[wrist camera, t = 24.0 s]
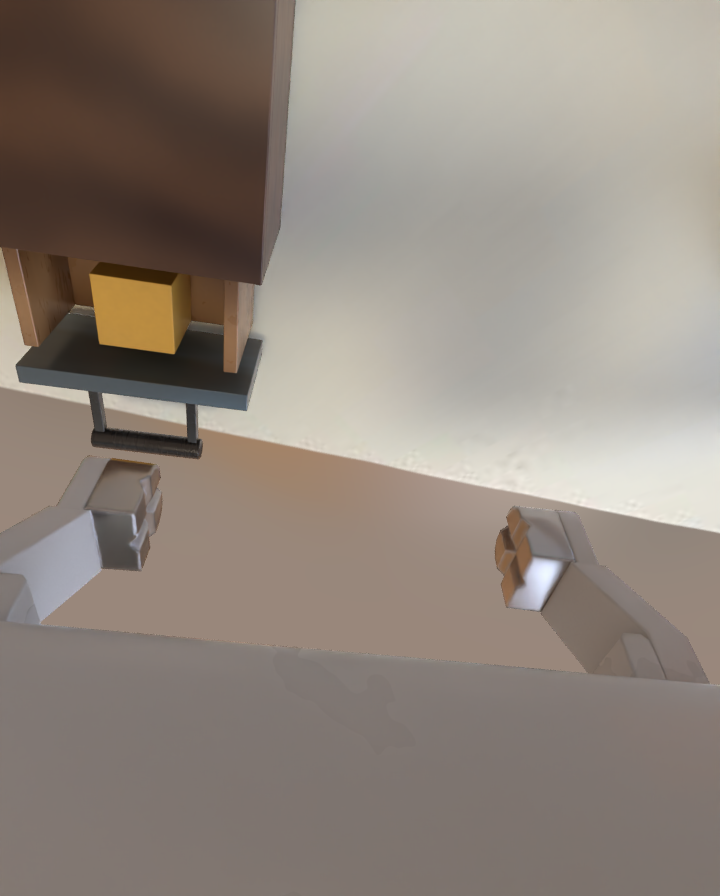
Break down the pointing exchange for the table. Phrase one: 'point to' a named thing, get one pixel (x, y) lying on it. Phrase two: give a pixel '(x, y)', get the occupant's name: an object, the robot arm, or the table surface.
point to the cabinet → (145, 131)
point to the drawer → (133, 350)
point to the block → (140, 307)
